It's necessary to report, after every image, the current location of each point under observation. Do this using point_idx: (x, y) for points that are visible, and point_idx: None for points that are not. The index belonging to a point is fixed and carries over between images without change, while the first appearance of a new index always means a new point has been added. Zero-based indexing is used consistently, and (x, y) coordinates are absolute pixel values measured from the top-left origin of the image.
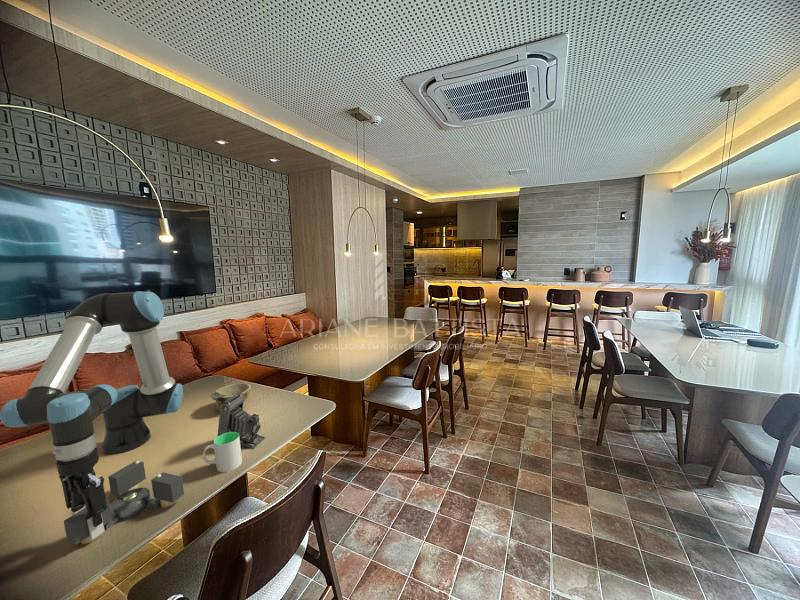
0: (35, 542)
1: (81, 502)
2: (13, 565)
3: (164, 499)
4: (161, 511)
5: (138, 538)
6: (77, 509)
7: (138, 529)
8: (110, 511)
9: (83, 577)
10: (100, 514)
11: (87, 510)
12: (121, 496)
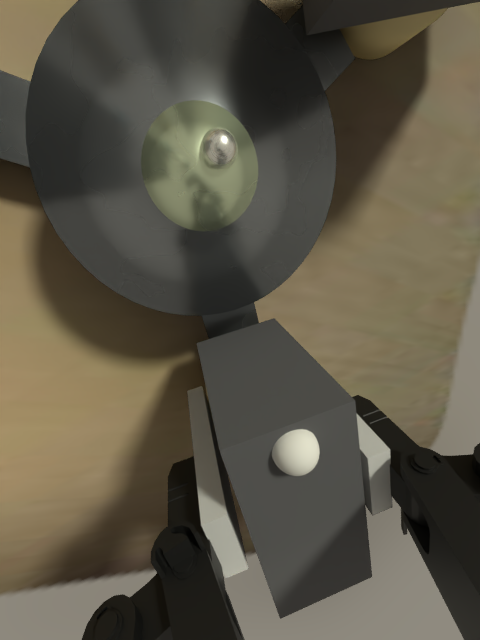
0: (44, 530)
1: (234, 625)
2: (145, 560)
3: (435, 4)
4: (401, 90)
5: (454, 261)
6: (223, 580)
7: (404, 239)
8: (301, 346)
9: (427, 420)
10: (410, 443)
11: (434, 573)
12: (82, 210)
